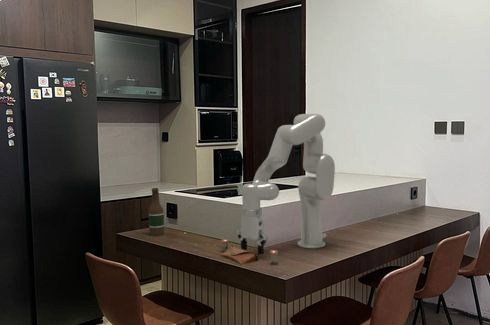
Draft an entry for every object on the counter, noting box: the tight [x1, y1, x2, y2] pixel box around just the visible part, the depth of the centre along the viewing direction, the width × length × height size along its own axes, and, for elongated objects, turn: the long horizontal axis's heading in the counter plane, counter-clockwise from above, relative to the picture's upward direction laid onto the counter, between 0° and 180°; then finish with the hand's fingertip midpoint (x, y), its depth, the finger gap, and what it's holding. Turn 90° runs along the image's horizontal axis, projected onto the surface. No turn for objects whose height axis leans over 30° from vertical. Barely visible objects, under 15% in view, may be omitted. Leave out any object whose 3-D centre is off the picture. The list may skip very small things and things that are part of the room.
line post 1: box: [220, 238, 230, 253], centre depth 213 cm, size 3×3×5 cm
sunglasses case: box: [219, 245, 259, 265], centre depth 203 cm, size 18×7×7 cm, turn 37°
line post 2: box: [269, 249, 279, 265], centre depth 194 cm, size 3×3×5 cm
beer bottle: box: [148, 187, 165, 237], centre depth 246 cm, size 8×8×24 cm
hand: (252, 252), depth 205 cm, fingers open, 9 cm apart
